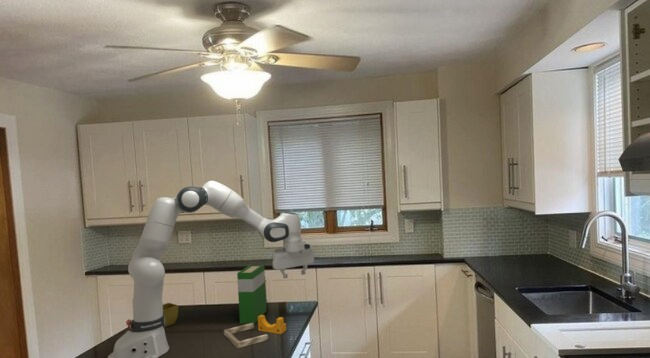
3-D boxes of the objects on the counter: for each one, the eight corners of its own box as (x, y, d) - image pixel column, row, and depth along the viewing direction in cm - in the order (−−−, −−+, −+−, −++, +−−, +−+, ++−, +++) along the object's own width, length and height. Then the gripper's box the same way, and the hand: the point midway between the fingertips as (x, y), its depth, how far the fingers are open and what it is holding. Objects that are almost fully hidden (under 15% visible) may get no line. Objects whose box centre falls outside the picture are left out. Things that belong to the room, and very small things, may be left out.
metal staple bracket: (237, 348, 161) (236, 343, 161) (223, 334, 176) (223, 330, 176) (268, 339, 168) (267, 335, 168) (252, 327, 183) (252, 322, 183)
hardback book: (252, 310, 206) (250, 264, 206) (266, 310, 205) (264, 264, 205) (239, 323, 189) (237, 273, 189) (254, 323, 188) (252, 272, 188)
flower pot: (163, 329, 186) (162, 310, 186) (153, 326, 191) (152, 307, 191) (179, 323, 193) (178, 305, 193) (169, 320, 198) (168, 302, 198)
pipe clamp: (286, 330, 177) (285, 316, 177) (281, 334, 173) (280, 319, 173) (264, 327, 183) (263, 313, 183) (258, 330, 179) (257, 316, 179)
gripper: (275, 250, 177) (276, 281, 177) (314, 244, 187) (316, 273, 188) (269, 249, 182) (271, 279, 182) (308, 242, 193) (310, 271, 193)
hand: (294, 276), depth 185 cm, fingers open, 8 cm apart
